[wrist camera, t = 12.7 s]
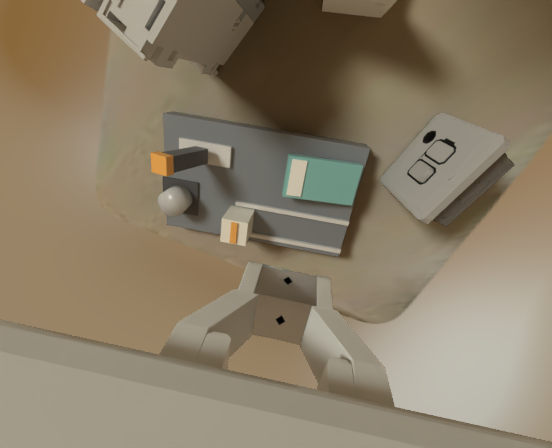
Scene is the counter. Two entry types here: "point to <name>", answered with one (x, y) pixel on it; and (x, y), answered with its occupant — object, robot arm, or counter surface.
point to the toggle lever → (178, 160)
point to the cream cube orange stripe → (237, 225)
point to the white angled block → (358, 7)
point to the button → (175, 200)
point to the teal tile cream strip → (321, 179)
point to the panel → (257, 181)
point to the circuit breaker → (180, 28)
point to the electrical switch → (447, 168)
